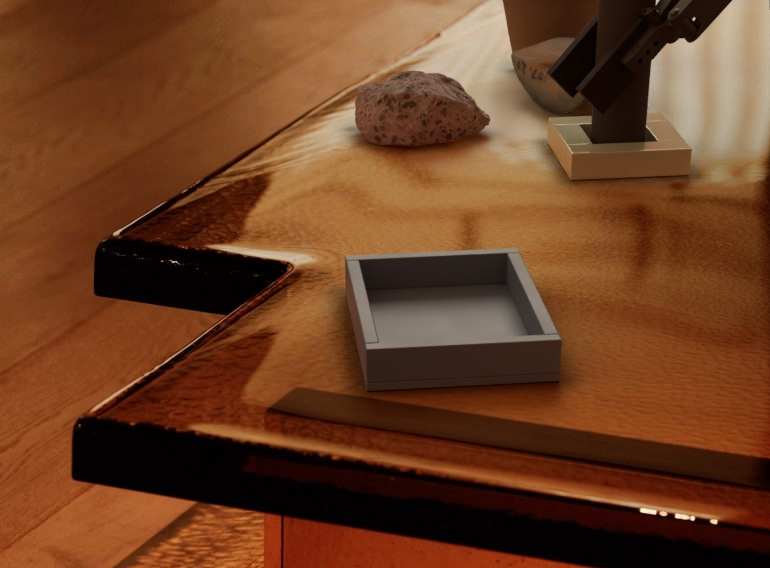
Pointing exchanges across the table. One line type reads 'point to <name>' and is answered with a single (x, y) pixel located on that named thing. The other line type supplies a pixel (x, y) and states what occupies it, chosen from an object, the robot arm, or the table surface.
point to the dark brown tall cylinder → (629, 111)
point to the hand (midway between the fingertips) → (574, 93)
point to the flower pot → (546, 19)
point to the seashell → (545, 75)
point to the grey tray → (449, 320)
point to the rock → (417, 110)
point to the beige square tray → (618, 150)
